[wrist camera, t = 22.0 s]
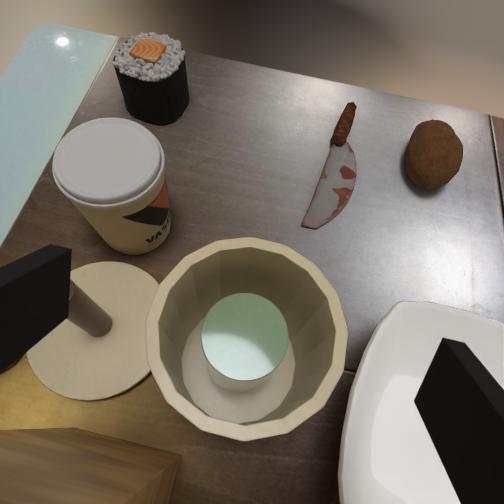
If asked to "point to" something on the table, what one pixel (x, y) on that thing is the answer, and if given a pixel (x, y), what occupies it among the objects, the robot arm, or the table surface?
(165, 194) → the coffee cup
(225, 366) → the canister
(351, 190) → the kitchen knife
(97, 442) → the stand
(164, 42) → the sushi
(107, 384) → the lid
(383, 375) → the bowl
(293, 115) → the table surface
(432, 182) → the potato
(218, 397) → the pot
